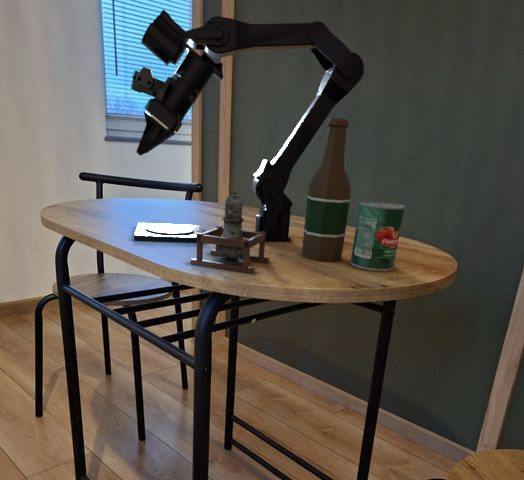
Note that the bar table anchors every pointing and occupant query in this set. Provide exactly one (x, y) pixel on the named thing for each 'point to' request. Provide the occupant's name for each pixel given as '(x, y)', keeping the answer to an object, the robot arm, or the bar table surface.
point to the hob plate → (167, 232)
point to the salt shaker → (232, 231)
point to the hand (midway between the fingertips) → (141, 153)
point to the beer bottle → (328, 199)
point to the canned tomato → (377, 235)
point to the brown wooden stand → (216, 238)
